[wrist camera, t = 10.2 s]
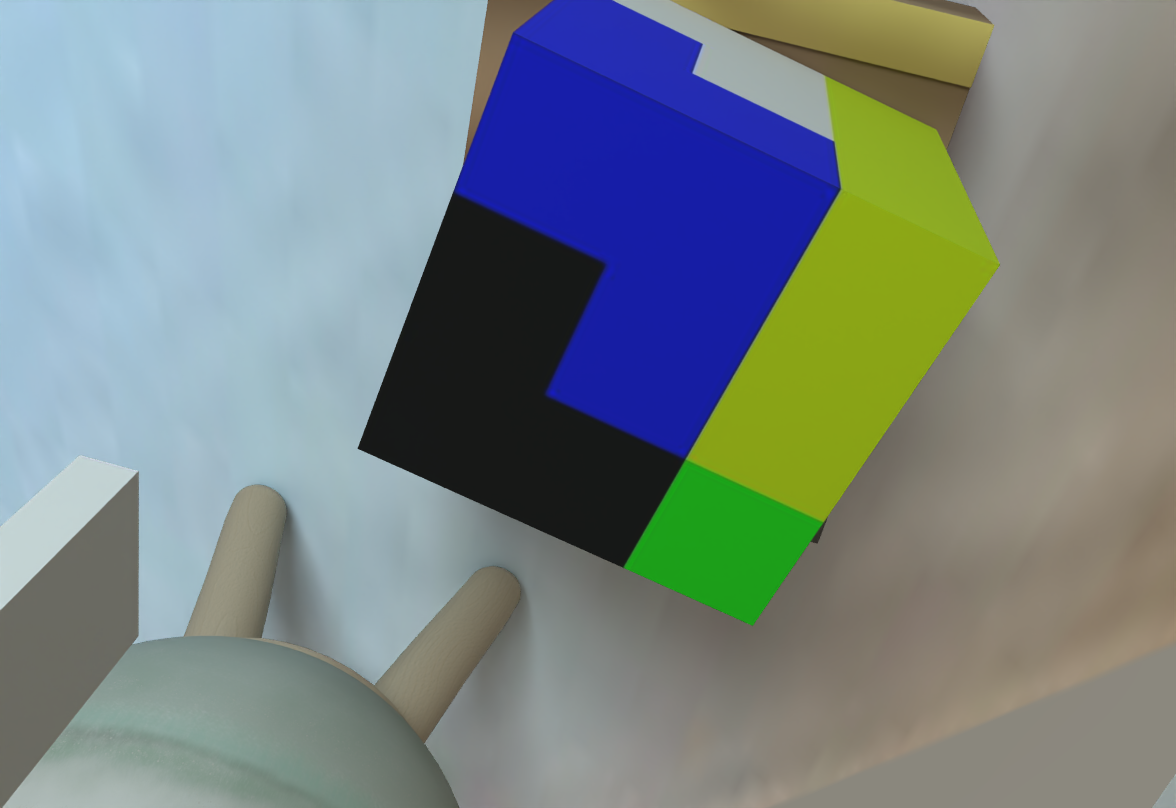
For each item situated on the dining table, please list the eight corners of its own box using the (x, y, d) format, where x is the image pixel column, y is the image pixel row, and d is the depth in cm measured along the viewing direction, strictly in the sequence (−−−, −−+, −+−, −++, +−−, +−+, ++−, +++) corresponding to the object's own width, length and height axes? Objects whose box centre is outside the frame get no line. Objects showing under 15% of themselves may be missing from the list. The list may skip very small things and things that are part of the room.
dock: (526, -102, 31) (479, -88, 26) (975, 7, 30) (1011, 41, 25) (452, 358, 38) (404, 435, 33) (812, 452, 38) (817, 543, 33)
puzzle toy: (597, -35, 28) (513, 32, 20) (936, 129, 29) (999, 265, 20) (469, 283, 33) (357, 448, 25) (761, 418, 34) (752, 625, 25)
